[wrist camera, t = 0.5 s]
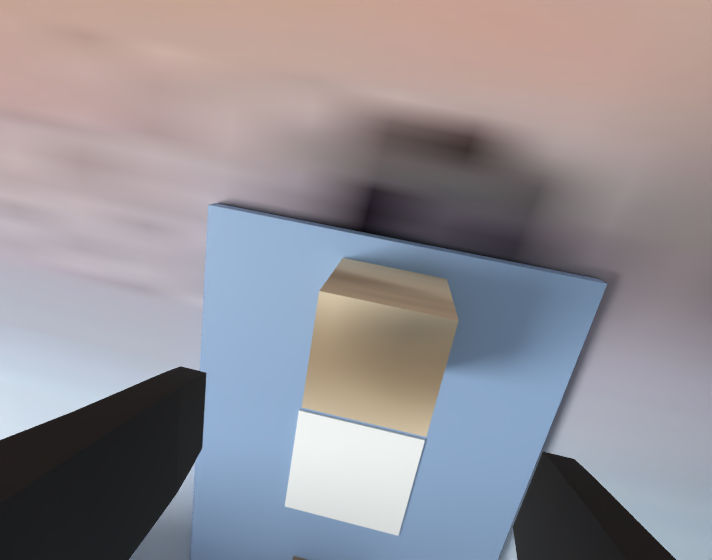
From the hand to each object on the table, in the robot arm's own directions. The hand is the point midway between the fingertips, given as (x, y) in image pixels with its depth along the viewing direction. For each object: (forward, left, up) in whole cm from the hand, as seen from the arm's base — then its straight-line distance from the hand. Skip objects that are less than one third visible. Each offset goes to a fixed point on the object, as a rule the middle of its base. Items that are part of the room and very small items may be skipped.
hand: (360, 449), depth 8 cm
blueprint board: (-7, -4, -8) cm, 11 cm away
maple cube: (0, 0, -8) cm, 8 cm away
